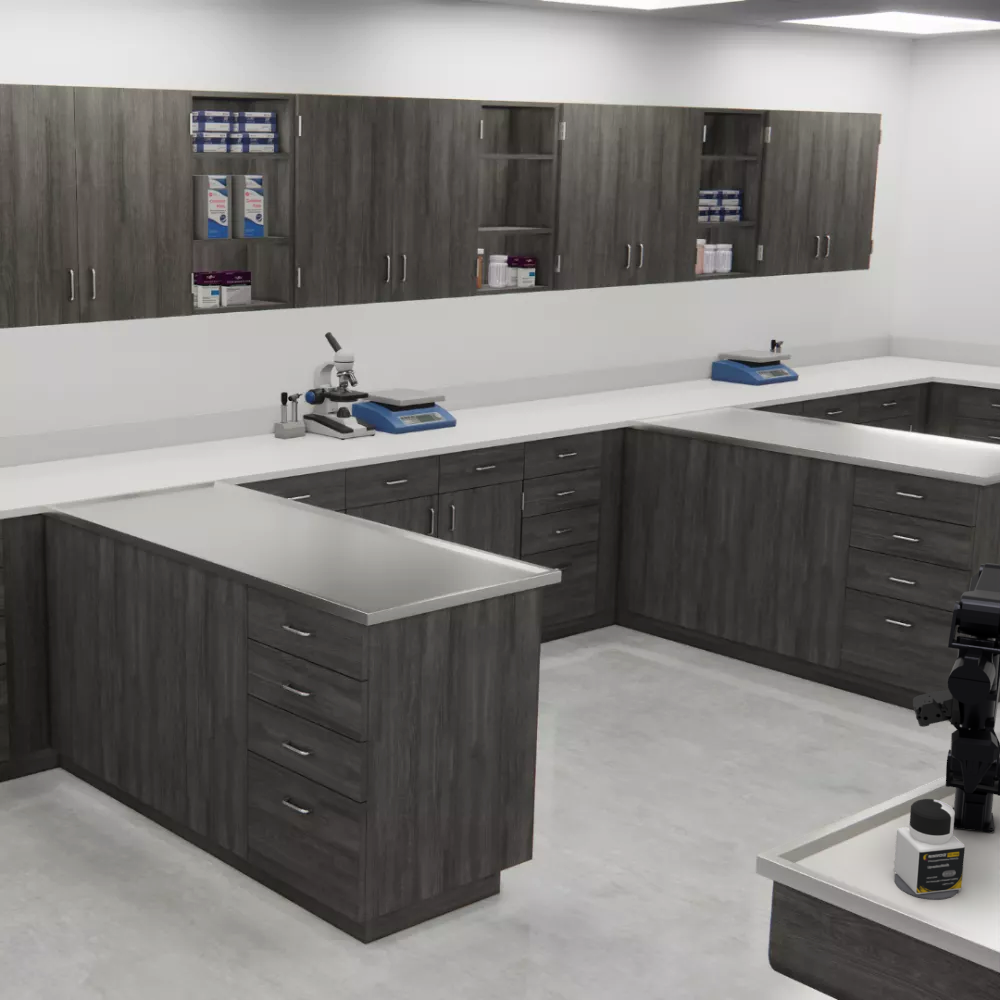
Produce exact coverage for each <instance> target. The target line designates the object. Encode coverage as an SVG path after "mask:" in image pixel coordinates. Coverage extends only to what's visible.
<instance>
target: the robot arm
mask: <svg viewBox="0 0 1000 1000" xmlns="http://www.w3.org/2000/svg"><path fill="white" fill-rule="evenodd" d="M969 584H970V585H969V589H968V590H969V591H964V592H963V593H962V595H960V597H959V598H960V599H959V601H955V602H954V606H953V613H952V618H951V625H950V631H949V639H948V645H947V648H950V649H956V650H957V657H956V658H957V659H956V660H955V662H954V665H953V666H952V669H951V671H950V674H949V676H948V680H947V688H948V689H946V690H945V689H944V690H938V691H933V692H928V693H923V694H920V695H917V696H914V697H913V699H912V706H913V710H914V714H915V718H916V720H917V722H918V726H919V727H923V728H924V727H928V726H930V725H932V724H937V723H943V722H946V721H949V722H950V725H952V726H953V727H954V728H955V729H956V730H954V731H953V732H952V733H951V735H950V748H949V749H948V752H947V756H946V757H947V759H946V765H945V767H946V768H945V769H946V770H945V787H947V788H955V790H954V791H955V792H954V804H953V807H952V806H951V807H952V808H953V810H954V811H955V815H954V827H953V829H959V830H967V831H969V830H970V831H978V832H983V833H984V832H985V833H995V828H996V827H995V820H994V819H995V818H994V814H993V802H994V795H996V796H997V797H999V796H1000V741H999V738H998V736H997V733H996V731H995V728H996V727H995V726H996V720H997V719H996V718H997V713H998V712H997V711H998V705H999V697H1000V563H999V564H997V563H990V562H985V563H981V564H980V565H979V571H978V572H977V573H976V574H974V575H972V576H971V577H970V583H969ZM956 634H959V635H957V636H956Z"/></svg>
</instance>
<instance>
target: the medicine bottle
mask: <svg viewBox="0 0 1000 1000" xmlns="http://www.w3.org/2000/svg"><path fill="white" fill-rule="evenodd" d="M909 815H910V816H909V826H902V827H898V828H897V829H896V835H895V837H896V838H895V852H894V862H893V863H894V864H893V865H894V866H893V871H894V873H895V875H896V874H897V875H898V876H899V877H900V878H901V879H902V880H903V881H904V882H905V883H906V884H907V885H908V886H909V887H910V888H911V889H912V890H913V891H914V892H915V893H916V894H927V893H935V892H943V891H952V890H961V889H962V885H963V884H962V883H963V875H964V874H963V873H964V862H965V861H964V859H965V848H966V845H965V844H964V843H963V842H962V841H961V840H959V839H958V838H957V837H956V836H955V835H954V828H953V827H954V815H955V811H954V810H953V808H952V806H951V805H950V804H948V803H946V802H944V801H941V800H939V799H933V798H923V799H918V800H916V801H914V802H913V803H912V804H911V805H910V814H909Z"/></svg>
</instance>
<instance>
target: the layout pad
mask: <svg viewBox="0 0 1000 1000" xmlns="http://www.w3.org/2000/svg"><path fill="white" fill-rule="evenodd" d="M894 884H895V885H896V886H897V887H898V889H899V890H901V891H902V892H904V893H906V894H908V895H910V896H913V897H916V898H921V899H924V900H938V901H939V900H946V899H949V898H951V897H954V896H956V895H957V894H958V893H959V890H960V889H959V890H952V891H943V892H935V893H927V894H916V893H915V892H914V891H913V890H912V889H911V888H910V887H909V886H908V885H907V884H906V883H905V882H904V881H903V880H902V879H901V878H900V877H899V876H898V875H897V874H896V873H895V875H894Z"/></svg>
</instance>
